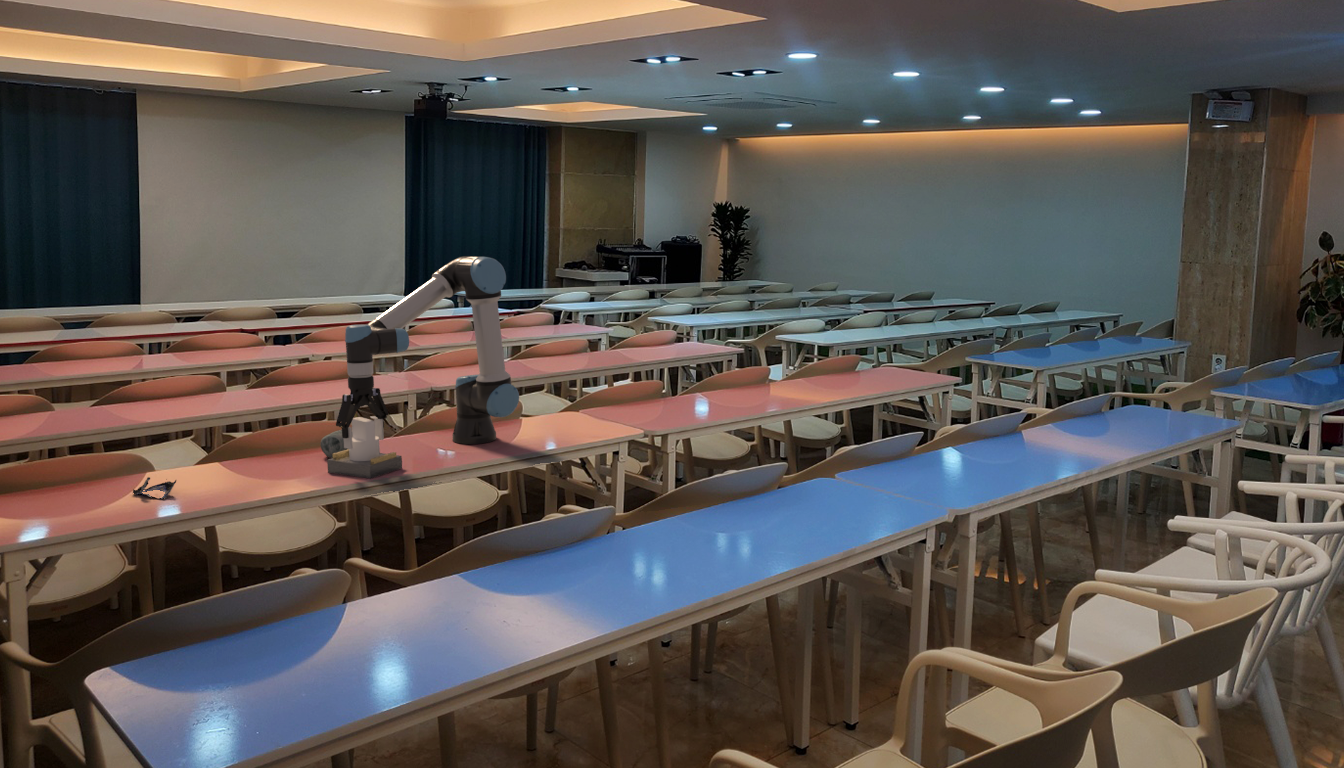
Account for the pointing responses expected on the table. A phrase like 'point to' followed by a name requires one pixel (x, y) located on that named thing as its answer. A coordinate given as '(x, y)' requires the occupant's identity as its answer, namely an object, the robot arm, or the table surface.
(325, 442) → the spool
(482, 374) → the robot arm
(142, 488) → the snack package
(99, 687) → the table surface
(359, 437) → the base with upright slab
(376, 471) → the dark grey flat block
